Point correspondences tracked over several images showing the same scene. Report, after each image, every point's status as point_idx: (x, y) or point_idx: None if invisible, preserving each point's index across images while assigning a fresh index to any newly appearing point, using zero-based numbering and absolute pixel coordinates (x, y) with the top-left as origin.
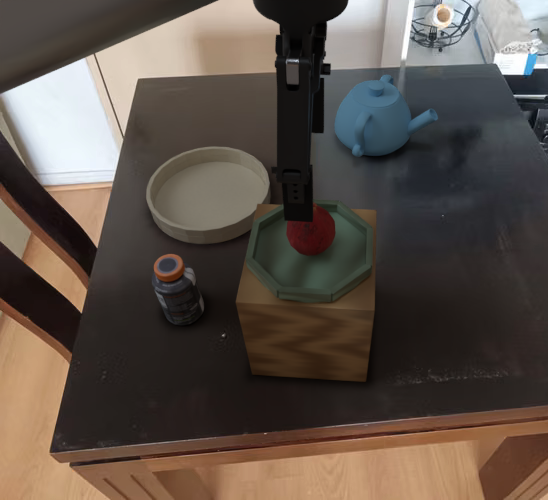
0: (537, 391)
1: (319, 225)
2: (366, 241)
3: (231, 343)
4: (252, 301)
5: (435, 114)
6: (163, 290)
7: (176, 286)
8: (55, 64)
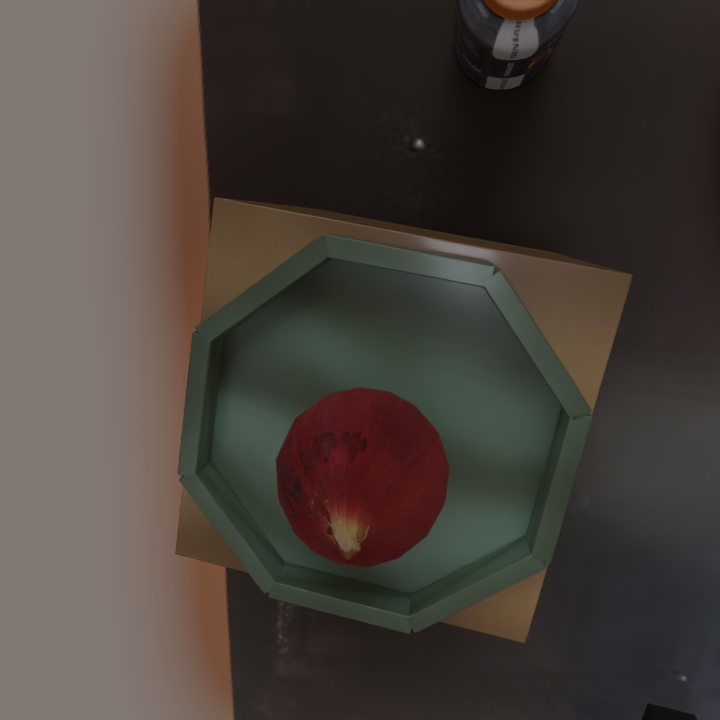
0: (248, 682)
1: (297, 530)
2: (358, 603)
3: (395, 162)
4: (214, 247)
5: None
6: None
7: (470, 2)
8: None
